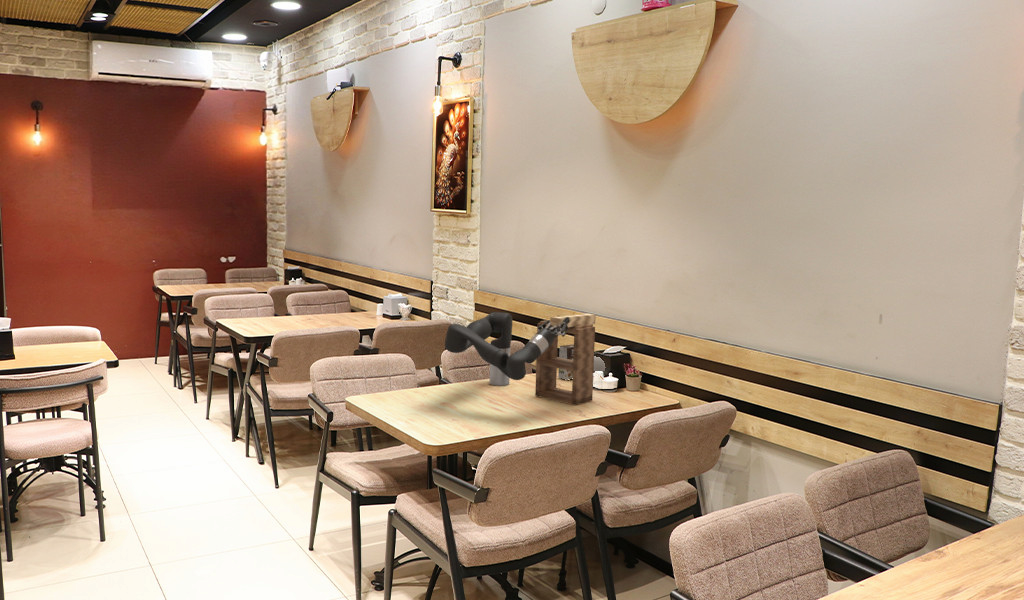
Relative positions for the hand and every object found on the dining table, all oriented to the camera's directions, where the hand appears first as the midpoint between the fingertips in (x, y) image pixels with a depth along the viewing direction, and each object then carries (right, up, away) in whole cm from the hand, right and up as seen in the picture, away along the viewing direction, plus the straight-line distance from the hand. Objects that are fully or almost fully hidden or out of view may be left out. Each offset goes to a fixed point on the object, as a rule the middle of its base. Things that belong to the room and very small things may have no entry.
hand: (563, 318), depth 328 cm
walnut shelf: (+1, -35, +16) cm, 38 cm away
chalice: (+21, -33, +37) cm, 54 cm away
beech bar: (+4, -3, +5) cm, 8 cm away
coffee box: (+6, -31, +53) cm, 62 cm away
